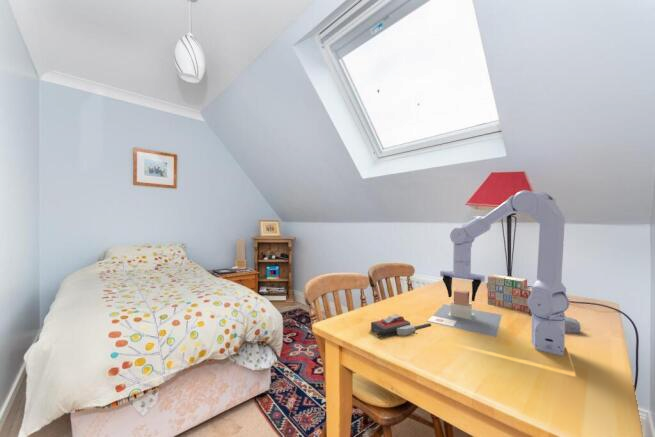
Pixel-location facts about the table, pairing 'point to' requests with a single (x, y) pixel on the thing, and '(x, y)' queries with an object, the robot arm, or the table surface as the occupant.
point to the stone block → (571, 325)
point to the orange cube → (461, 297)
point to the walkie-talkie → (394, 326)
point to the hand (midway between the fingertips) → (461, 298)
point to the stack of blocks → (508, 292)
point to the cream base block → (461, 310)
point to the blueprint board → (468, 321)
